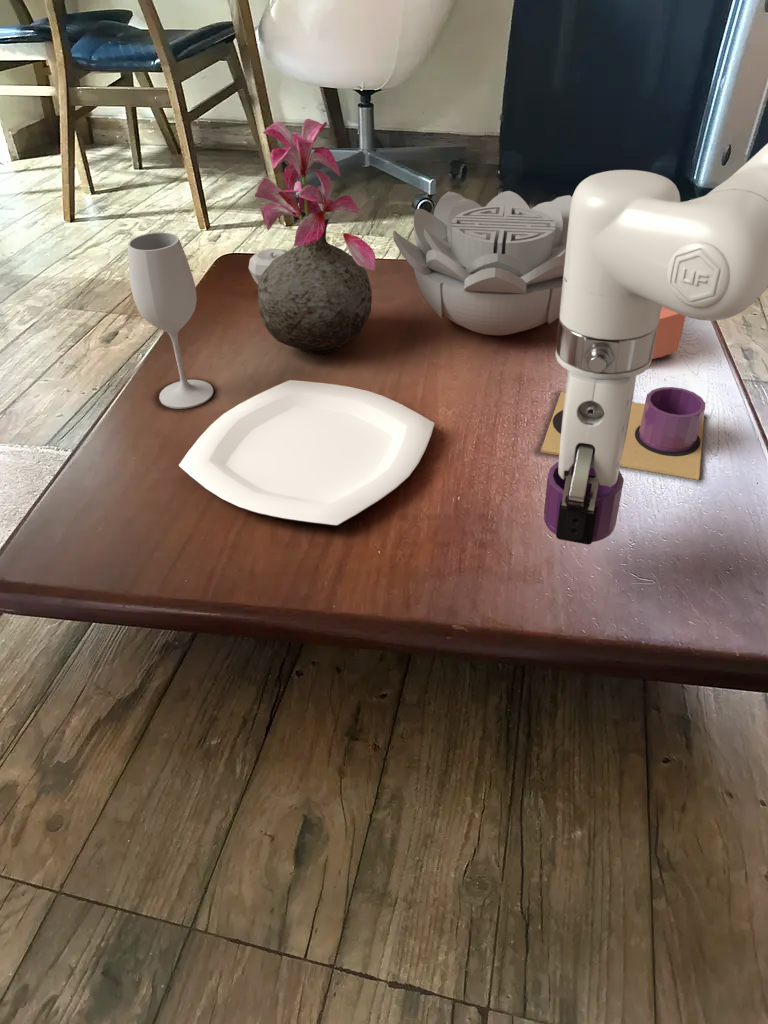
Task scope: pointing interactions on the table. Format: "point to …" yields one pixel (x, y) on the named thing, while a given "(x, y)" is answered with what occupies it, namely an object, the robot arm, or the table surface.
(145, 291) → the wineglass
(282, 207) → the vase
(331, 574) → the table surface
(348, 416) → the plate
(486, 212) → the decorative bowl
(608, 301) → the robot arm
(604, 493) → the plum dish
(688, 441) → the plum dish
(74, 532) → the table surface
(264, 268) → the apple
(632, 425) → the placemat
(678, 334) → the pink cube teapot
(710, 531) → the table surface
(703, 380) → the table surface
